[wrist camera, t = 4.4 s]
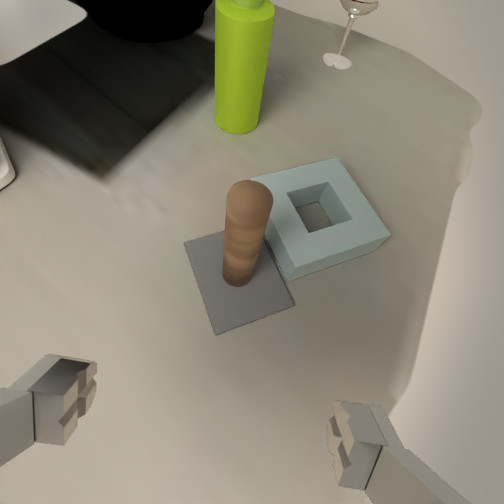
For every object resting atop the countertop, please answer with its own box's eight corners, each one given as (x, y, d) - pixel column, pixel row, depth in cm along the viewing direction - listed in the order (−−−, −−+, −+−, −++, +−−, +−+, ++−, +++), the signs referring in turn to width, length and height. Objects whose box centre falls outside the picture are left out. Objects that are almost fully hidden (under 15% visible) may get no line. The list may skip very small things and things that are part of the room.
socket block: (247, 198, 34) (250, 178, 31) (327, 177, 37) (337, 157, 34) (287, 281, 30) (295, 267, 27) (374, 250, 33) (391, 234, 30)
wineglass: (343, 78, 48) (379, -15, 37) (309, 58, 50) (335, -37, 39) (363, 62, 51) (403, -28, 40) (331, 44, 52) (361, -48, 42)
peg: (218, 264, 30) (220, 185, 19) (245, 255, 31) (262, 175, 20) (228, 291, 29) (236, 222, 18) (256, 281, 29) (280, 210, 19)
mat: (183, 244, 31) (183, 242, 31) (254, 223, 33) (254, 222, 33) (215, 335, 27) (215, 334, 27) (293, 305, 29) (294, 305, 29)
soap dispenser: (236, 96, 43) (252, -122, 25) (266, 124, 41) (306, -91, 23) (202, 109, 41) (193, -118, 23) (231, 140, 39) (246, -84, 21)
